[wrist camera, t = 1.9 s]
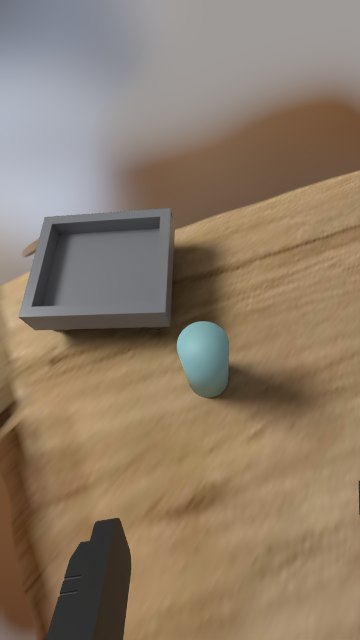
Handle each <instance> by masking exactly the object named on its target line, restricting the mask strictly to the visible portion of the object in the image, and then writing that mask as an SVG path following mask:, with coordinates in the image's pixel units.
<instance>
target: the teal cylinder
mask: <svg viewBox="0 0 360 640" xmlns="http://www.w3.org/2000/svg"><path fill="white" fill-rule="evenodd" d="M177 352H178V355H179V357H180V360H181V363H182V365H183V368H184V371H185V373H186V376H187V379H188V381H189V384H190V387H191V388H192V390H193V391H194V392H195V393H196V394H198V395H199V396H201V397H205V398H212V397H216V396H218V395H220V394H221V393H222V392H223V391H224V390H225V388H226V387H227V384H228V370H229V341H228V337H227V335H226V333H225V332H224V330H223V329H222V328H221V327H219V326H218V325H216V324H214V323H211V322H207V321H200V322H195V323H192V324H190V325H189V326H187V327H186V328H185V329H184V330H183V331H182V332H181V333H180V335H179V337H178V340H177Z"/></svg>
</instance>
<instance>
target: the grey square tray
mask: <svg viewBox="0 0 360 640" xmlns="http://www.w3.org/2000/svg"><path fill="white" fill-rule="evenodd" d="M174 234H175V227H174V222H173V217H172V212H171V208H167V209H152V210H138V211H124V212H110V213H97V214H82V215H68V216H54V217H45V218H44V223H43V226H42V230H41V234H40V237H39V241H38V245H37V249H36V252H35V256H34V260H33V264H32V268H31V271H30V275H29V279H28V283H27V287H26V290H25V294H24V298H23V302H22V305H21V309H20V313H19V318H20V319H22V320H23V321H24V322H25V323H27V324H28V325H29V326H30V327H32V328H33V329H34V330H53V331H56V332H64V331H66V330H68V329H101V328H138V327H149V328H151V329H154V330H158V329H162V328H163V327H170V326H171V303H172V280H173V257H174Z"/></svg>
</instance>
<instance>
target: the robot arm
mask: <svg viewBox="0 0 360 640" xmlns="http://www.w3.org/2000/svg"><path fill="white" fill-rule="evenodd" d="M359 513H360V481H359ZM130 575H131V555H130V549H129V546H128V543H127V540H126V537H125V534H124V531H123V527H122V524H121V521H120V519H119V518H114V519H108V520H101V521H97V522H96V523H95V524H94V527H93V531H92V535H91V539H90V541H86V542H81V543H80V544H79V546H78V547H77V549H76V550H75V552H74V553H73V555H72V556H71V558H70V560H69V564H68V567H67V570H66V574H65V577H64V578H65V580H64V581H63V584H62V587H61V591H60V597H58V601H57V604H56V607H55V611H54V614H53V617H52V621H51V624H50V628H49V631H48V634H47V638H46V640H123V635H124V626H125V618H126V609H127V601H128V592H129V584H130Z"/></svg>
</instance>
